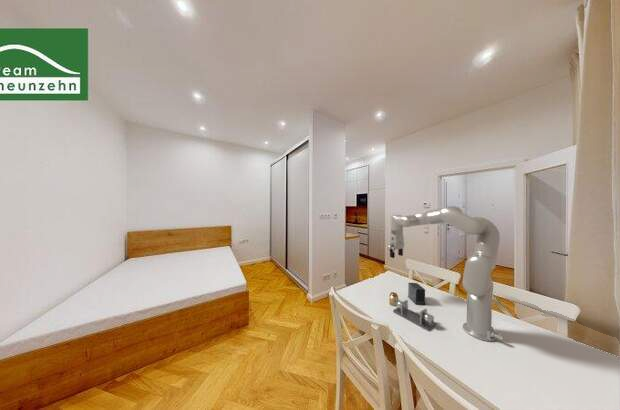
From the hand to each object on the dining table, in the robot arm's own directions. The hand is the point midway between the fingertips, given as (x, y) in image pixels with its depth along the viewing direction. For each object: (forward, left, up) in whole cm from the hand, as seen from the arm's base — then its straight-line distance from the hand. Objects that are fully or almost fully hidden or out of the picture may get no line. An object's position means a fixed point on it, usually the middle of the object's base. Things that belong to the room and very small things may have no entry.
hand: (396, 256), depth 132 cm
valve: (-5, +10, -29) cm, 31 cm away
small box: (-11, -7, -29) cm, 32 cm away
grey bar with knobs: (-20, +14, -29) cm, 38 cm away
